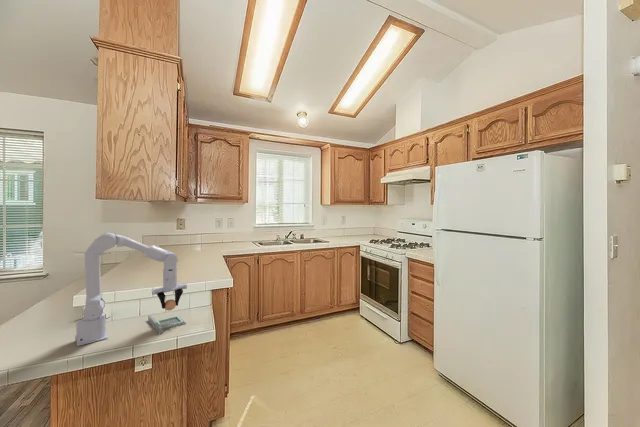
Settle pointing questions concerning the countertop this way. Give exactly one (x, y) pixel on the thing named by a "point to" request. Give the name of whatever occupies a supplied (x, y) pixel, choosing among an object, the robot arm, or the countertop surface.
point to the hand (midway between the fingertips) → (169, 306)
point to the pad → (170, 322)
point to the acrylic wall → (155, 324)
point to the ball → (170, 304)
